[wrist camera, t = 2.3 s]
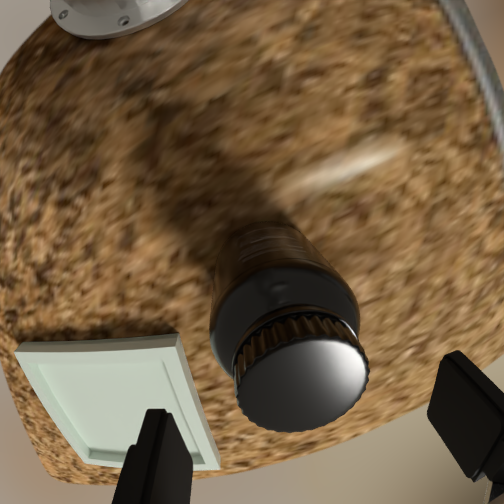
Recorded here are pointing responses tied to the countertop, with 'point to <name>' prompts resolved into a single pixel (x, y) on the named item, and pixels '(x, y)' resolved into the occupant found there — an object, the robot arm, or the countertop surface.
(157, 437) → the robot arm
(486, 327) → the countertop surface
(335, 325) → the supplement bottle
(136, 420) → the sage tray
